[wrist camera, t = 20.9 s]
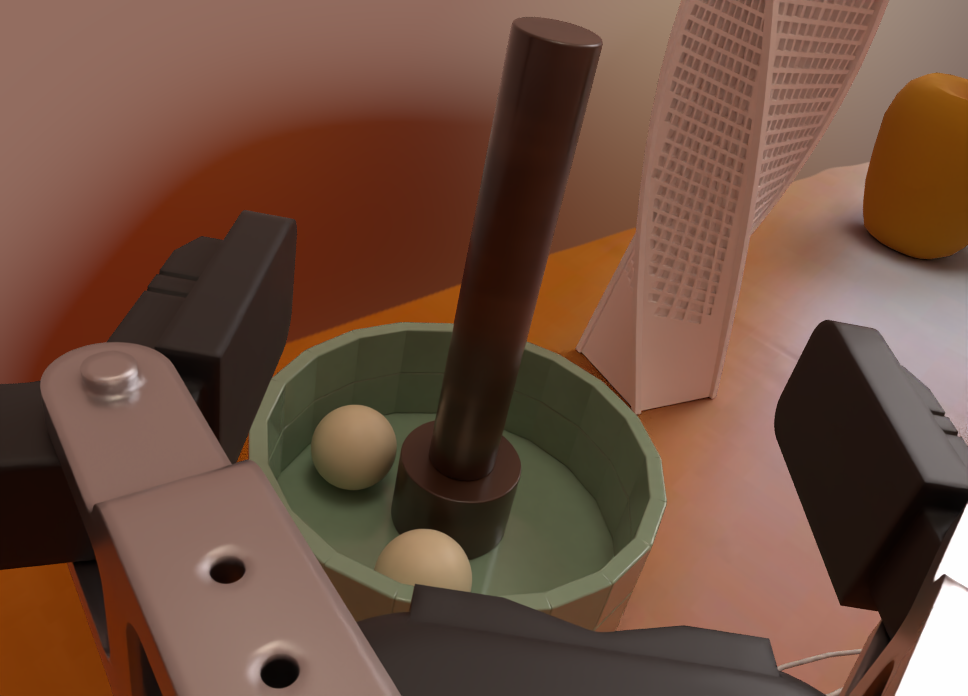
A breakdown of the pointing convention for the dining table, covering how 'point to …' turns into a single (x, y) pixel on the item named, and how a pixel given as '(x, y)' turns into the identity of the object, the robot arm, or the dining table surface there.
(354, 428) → the bead
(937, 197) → the apple
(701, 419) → the dining table surface
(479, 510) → the pestle
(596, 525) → the bowl
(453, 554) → the bead
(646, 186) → the skyscraper
